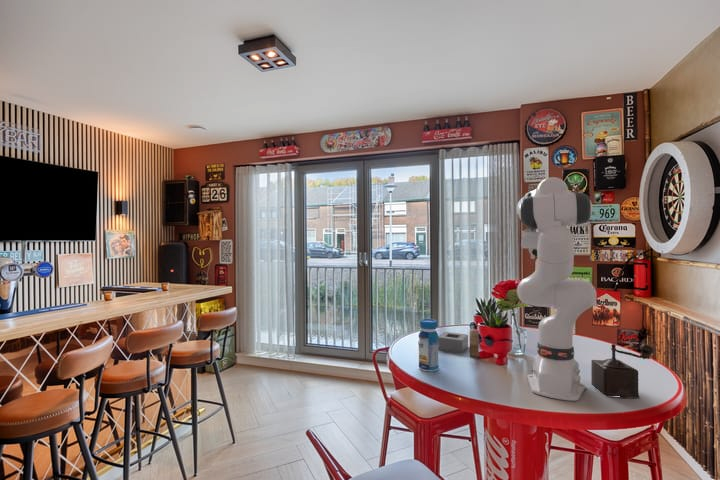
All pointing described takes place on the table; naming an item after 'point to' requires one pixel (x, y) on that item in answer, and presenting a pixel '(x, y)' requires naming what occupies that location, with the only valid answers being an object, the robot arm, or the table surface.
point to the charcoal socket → (453, 342)
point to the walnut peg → (474, 343)
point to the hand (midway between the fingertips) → (543, 259)
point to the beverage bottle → (428, 345)
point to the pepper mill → (618, 374)
